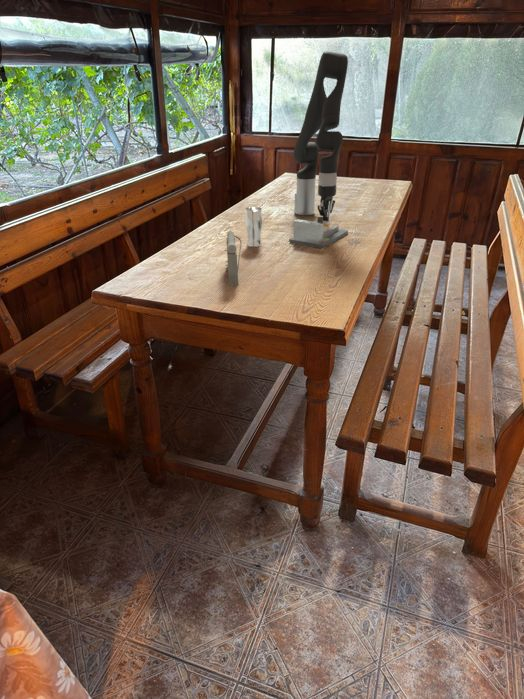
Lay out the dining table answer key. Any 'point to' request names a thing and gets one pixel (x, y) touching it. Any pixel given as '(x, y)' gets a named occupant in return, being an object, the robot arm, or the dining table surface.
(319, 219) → the spring plunger
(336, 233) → the tester base
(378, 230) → the dining table surface
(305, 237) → the brushed metal plate
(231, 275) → the geiger counter
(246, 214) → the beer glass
